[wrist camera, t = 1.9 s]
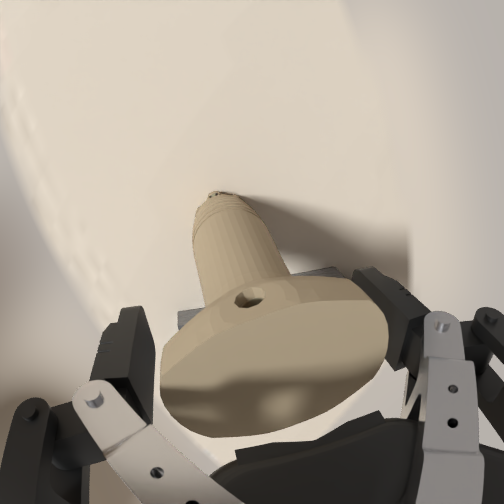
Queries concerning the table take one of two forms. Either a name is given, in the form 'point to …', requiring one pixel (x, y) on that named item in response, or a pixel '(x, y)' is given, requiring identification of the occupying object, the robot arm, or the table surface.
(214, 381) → the handle
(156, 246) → the table surface
